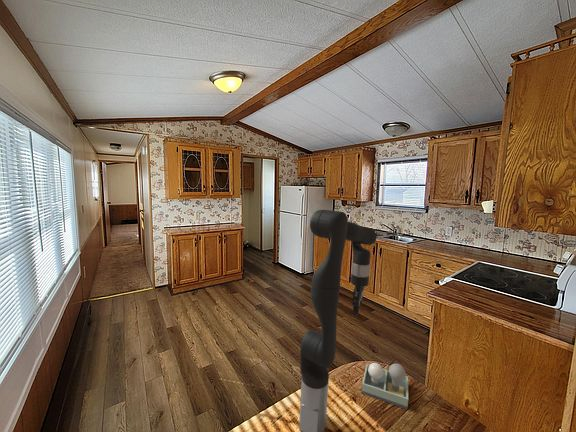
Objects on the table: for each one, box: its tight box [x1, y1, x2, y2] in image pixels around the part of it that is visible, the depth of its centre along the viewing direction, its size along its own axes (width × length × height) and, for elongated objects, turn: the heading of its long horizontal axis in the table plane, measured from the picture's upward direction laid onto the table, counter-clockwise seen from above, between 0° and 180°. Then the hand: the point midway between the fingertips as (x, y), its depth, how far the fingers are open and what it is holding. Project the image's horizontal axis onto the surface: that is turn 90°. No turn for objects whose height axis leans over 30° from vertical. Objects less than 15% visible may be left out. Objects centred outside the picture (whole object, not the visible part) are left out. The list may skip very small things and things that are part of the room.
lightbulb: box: [388, 363, 407, 391], centre depth 105 cm, size 6×6×11 cm
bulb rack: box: [361, 362, 409, 410], centre depth 107 cm, size 13×17×10 cm
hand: (357, 308), depth 113 cm, fingers open, 8 cm apart
